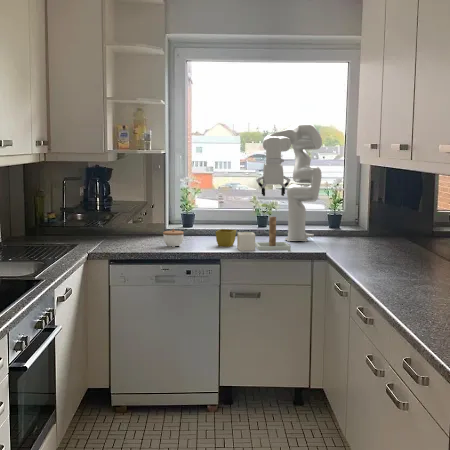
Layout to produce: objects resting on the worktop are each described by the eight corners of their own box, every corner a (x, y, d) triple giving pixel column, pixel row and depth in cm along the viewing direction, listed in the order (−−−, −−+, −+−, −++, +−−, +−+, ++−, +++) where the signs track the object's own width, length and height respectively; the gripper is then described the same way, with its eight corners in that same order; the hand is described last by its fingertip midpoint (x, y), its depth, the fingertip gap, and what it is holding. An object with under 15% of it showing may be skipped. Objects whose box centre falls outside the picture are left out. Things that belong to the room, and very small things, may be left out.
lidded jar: (185, 245, 341) (185, 227, 339) (181, 248, 330) (181, 230, 329) (165, 244, 342) (165, 227, 341) (161, 247, 331) (161, 229, 330)
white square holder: (252, 249, 326) (252, 232, 325) (255, 252, 318) (255, 234, 317) (237, 249, 325) (237, 232, 324) (239, 252, 317) (239, 234, 316)
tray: (285, 247, 334) (285, 241, 334) (290, 251, 321) (290, 246, 320) (254, 247, 333) (254, 242, 332) (259, 252, 319) (259, 246, 319)
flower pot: (231, 249, 327) (231, 231, 326) (215, 248, 330) (215, 231, 329) (236, 246, 335) (236, 229, 334) (220, 245, 338) (220, 229, 337)
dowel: (275, 247, 329) (275, 216, 327) (276, 248, 325) (276, 217, 323) (268, 247, 328) (268, 216, 326) (269, 248, 325) (270, 217, 323)
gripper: (288, 161, 326) (288, 194, 328) (255, 161, 324) (255, 195, 326) (291, 162, 319) (291, 196, 321) (257, 162, 317) (257, 196, 319)
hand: (273, 195), depth 324 cm, fingers open, 9 cm apart
